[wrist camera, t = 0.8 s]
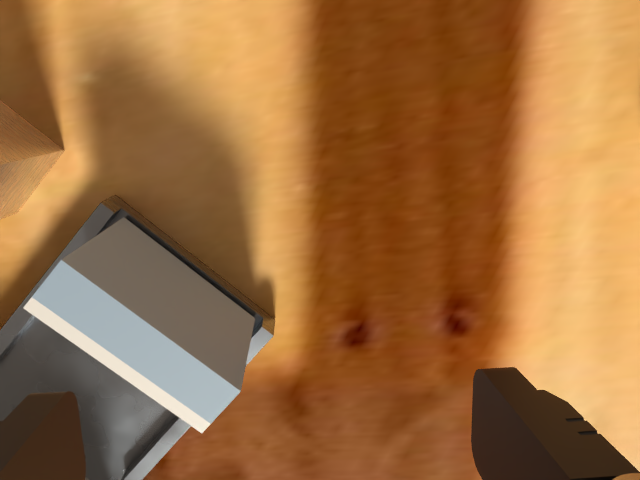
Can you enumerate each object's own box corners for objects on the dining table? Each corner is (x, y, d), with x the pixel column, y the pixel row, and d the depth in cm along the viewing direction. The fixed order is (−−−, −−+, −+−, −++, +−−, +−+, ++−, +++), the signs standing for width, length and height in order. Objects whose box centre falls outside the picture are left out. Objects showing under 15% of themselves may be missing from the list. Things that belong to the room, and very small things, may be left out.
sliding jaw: (123, 217, 28) (61, 259, 20) (255, 318, 30) (240, 391, 22) (94, 253, 28) (23, 308, 21) (225, 351, 30) (202, 433, 23)
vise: (115, 195, 29) (35, 236, 20) (275, 319, 31) (265, 405, 22) (-64, 421, 32) (-201, 542, 23) (93, 519, 34) (22, 664, 25)
